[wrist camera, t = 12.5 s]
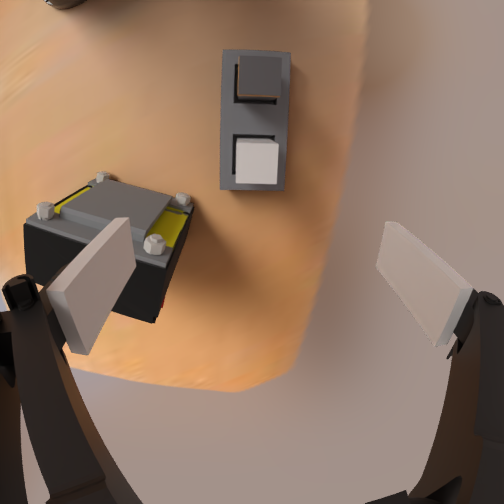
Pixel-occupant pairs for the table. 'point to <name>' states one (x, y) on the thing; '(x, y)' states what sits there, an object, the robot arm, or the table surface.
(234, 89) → the pdu strip
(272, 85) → the plug
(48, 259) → the electrical component
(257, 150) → the white rectangular block
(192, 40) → the table surface
